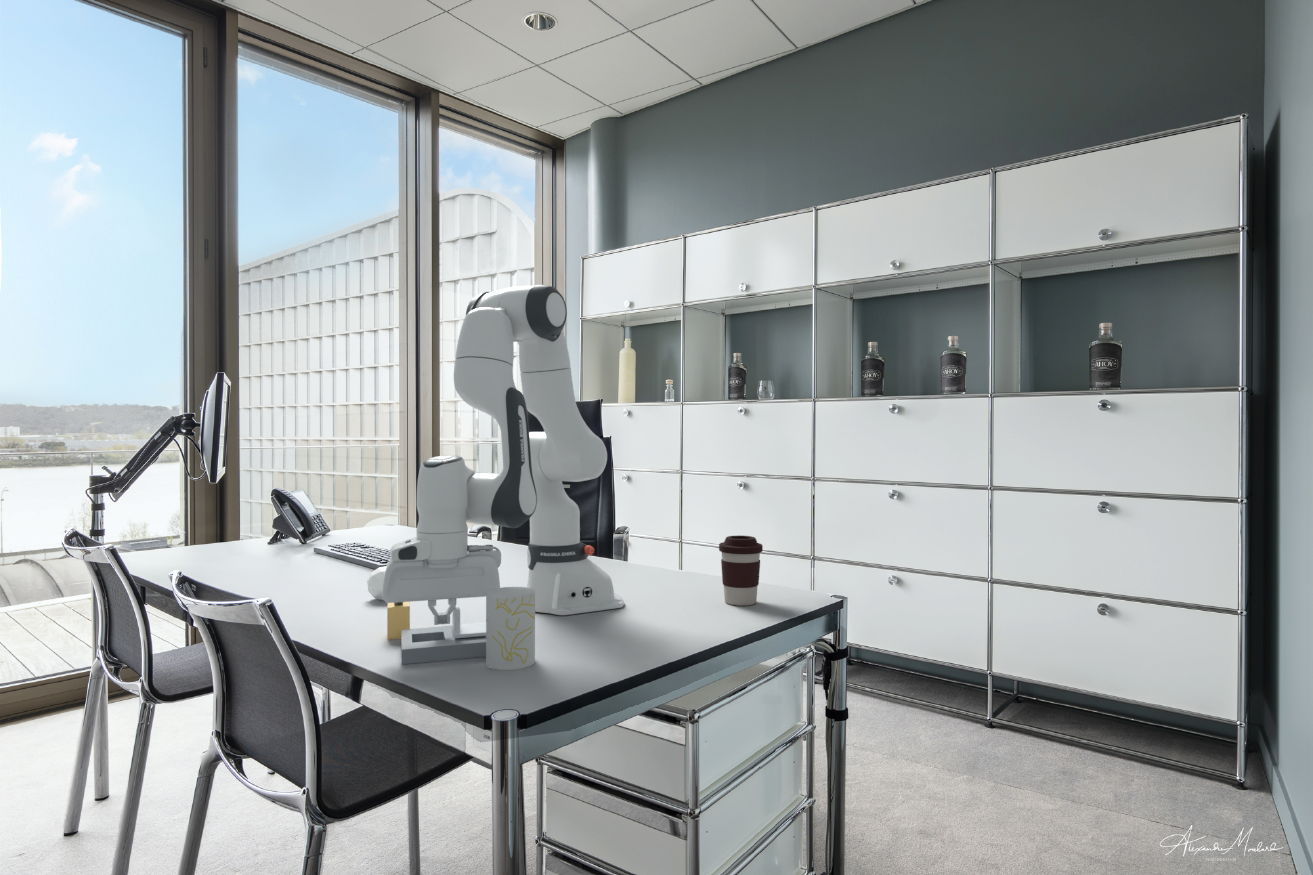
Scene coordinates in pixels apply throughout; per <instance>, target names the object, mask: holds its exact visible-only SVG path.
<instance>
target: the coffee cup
mask: <svg viewBox="0 0 1313 875" xmlns="http://www.w3.org/2000/svg"><path fill="white" fill-rule="evenodd" d="M763 547H764V546H763V544H762V543H760V542H759V543H758V541H757V538H756V537H755V536H751V535H729V536H726V537H725V539H724V541H723V542H720V543H719V544H718V550H719V552H721V560H720V562H721V563H720V564H721V577H722V578H721V579H722V585H723V597H724V602H725V603H726V604H728V605H731V606H737V607H738V606H739V607H741V606H743V607H745V606H746V607H747V606H752V605H755V604H756V603H757V597H758V596H757V595H758V587H759V582H760V569H761V560H760V557H761V553H762V552H763V551H764V550H763V549H764V548H763Z"/></svg>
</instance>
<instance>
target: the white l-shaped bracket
mask: <svg viewBox="0 0 1313 875" xmlns="http://www.w3.org/2000/svg"><path fill="white" fill-rule="evenodd" d="M451 615H452V621H451V622H452V623H451V626H452V630H453V634H454V637H455V638H465V637H477V636H486V621H484V622H470V623H462V624H461V608H460V606H459V603H456V606H455V608H454V610H453V611H452V613H451Z"/></svg>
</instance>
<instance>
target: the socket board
mask: <svg viewBox="0 0 1313 875" xmlns="http://www.w3.org/2000/svg"><path fill="white" fill-rule="evenodd" d="M400 639H401V642H400V643H401V644H400V645H401V665H410V664H411V665H412V664H419V663H420V664H421V663H422V664H423V663H430V662H431V663H432V662H442V661H452V660H453V661H454V660H462V659H464V660H465V659H474V658H484V657H485V658H486V636H477V637H465V638H455V637H454V634H453V630H452V625H443V626H429V627H417V628H410V629H404V630H401V638H400Z"/></svg>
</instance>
